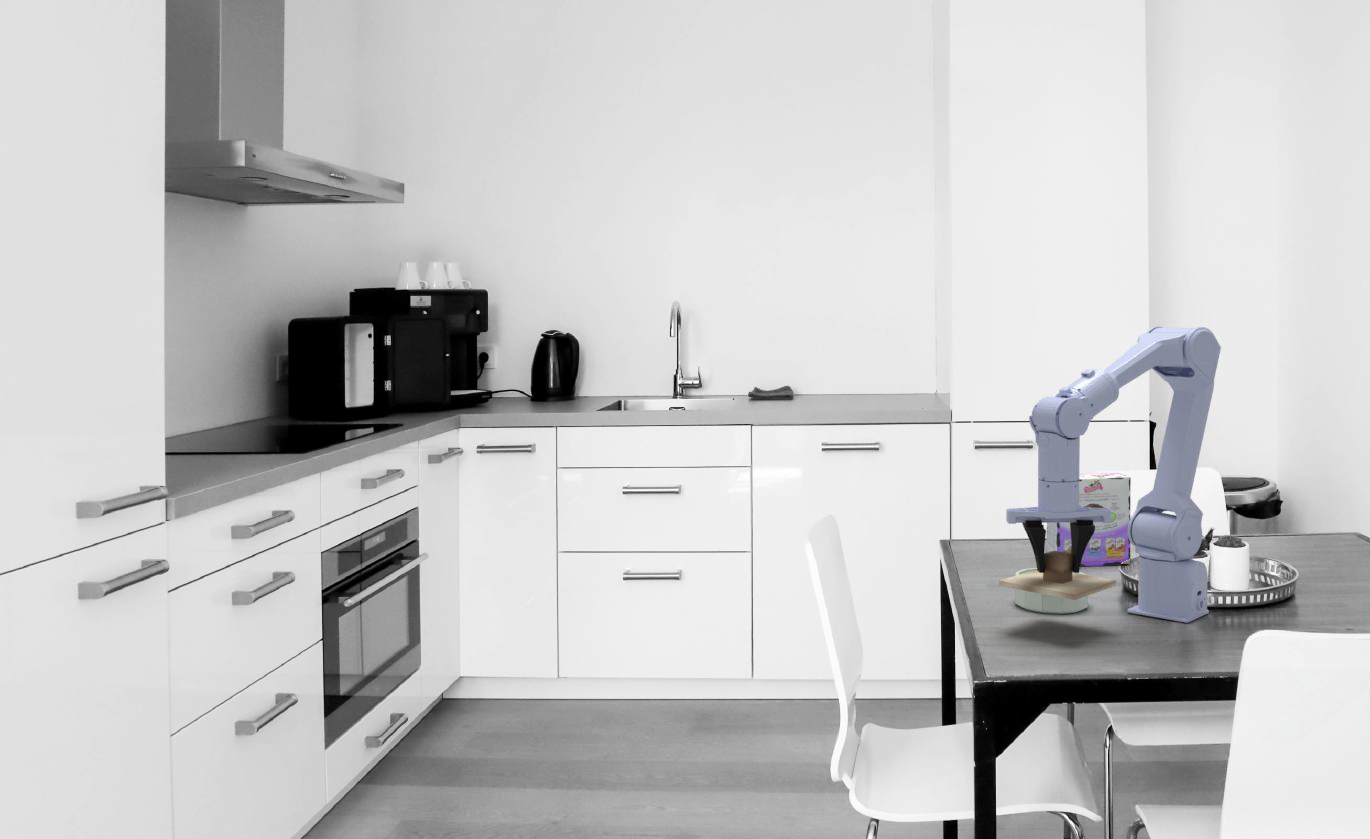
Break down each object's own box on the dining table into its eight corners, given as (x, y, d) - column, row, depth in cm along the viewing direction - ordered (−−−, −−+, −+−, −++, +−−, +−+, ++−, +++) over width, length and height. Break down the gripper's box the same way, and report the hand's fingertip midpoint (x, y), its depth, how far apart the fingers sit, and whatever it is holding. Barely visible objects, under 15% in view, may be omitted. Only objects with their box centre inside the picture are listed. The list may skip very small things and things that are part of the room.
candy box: (1118, 558, 220) (1119, 471, 218) (1131, 565, 214) (1132, 476, 212) (1045, 560, 219) (1045, 473, 218) (1056, 567, 213) (1057, 478, 212)
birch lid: (1116, 585, 171) (1116, 553, 171) (1074, 600, 163) (1075, 566, 163) (1041, 572, 180) (1042, 542, 180) (999, 585, 172) (999, 553, 172)
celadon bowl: (1100, 605, 187) (1100, 574, 187) (1066, 618, 179) (1066, 586, 179) (1037, 594, 195) (1037, 564, 194) (1002, 606, 187) (1002, 576, 187)
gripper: (1102, 474, 174) (1101, 565, 175) (1002, 475, 175) (1002, 565, 176) (1115, 482, 167) (1114, 575, 168) (1011, 483, 168) (1011, 576, 169)
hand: (1057, 571), depth 172 cm, fingers closed on birch lid, 4 cm apart
